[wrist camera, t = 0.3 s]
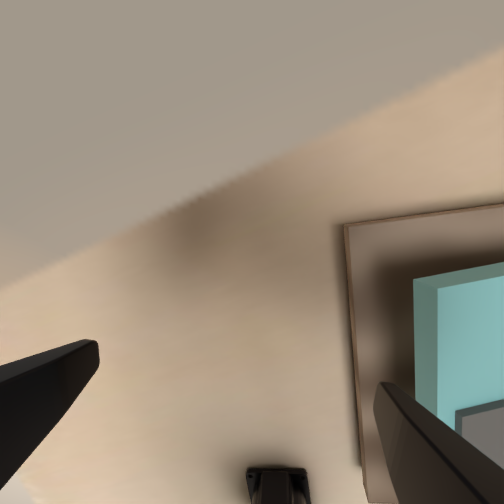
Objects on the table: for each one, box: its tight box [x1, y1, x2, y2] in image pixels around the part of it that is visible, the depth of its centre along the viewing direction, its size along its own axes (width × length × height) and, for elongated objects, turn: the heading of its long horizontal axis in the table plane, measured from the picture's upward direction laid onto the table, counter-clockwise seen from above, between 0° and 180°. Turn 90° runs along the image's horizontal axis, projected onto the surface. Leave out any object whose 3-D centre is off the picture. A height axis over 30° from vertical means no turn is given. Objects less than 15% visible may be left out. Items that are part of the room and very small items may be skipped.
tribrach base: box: [344, 204, 504, 504], centre depth 19 cm, size 25×20×4 cm
